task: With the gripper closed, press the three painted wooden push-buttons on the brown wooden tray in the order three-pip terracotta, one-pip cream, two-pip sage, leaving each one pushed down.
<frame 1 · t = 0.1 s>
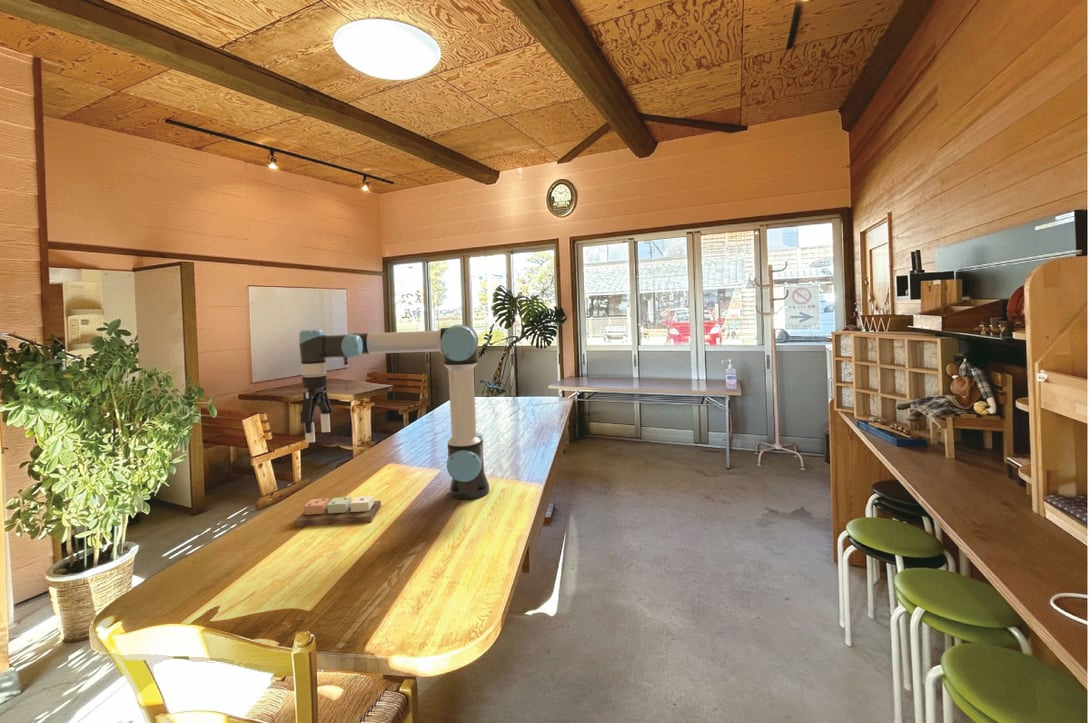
hand: (318, 436, 160), 28 cm above the table, fingers open, 13 cm apart
button three terracotta: (317, 506, 160), point 4 cm above the table, slide at 0.0 cm
button one cream: (362, 503, 161), point 4 cm above the table, slide at 0.0 cm
brown wooden tray: (340, 516, 161), on the table
button two sage: (339, 504, 160), point 4 cm above the table, slide at 0.0 cm
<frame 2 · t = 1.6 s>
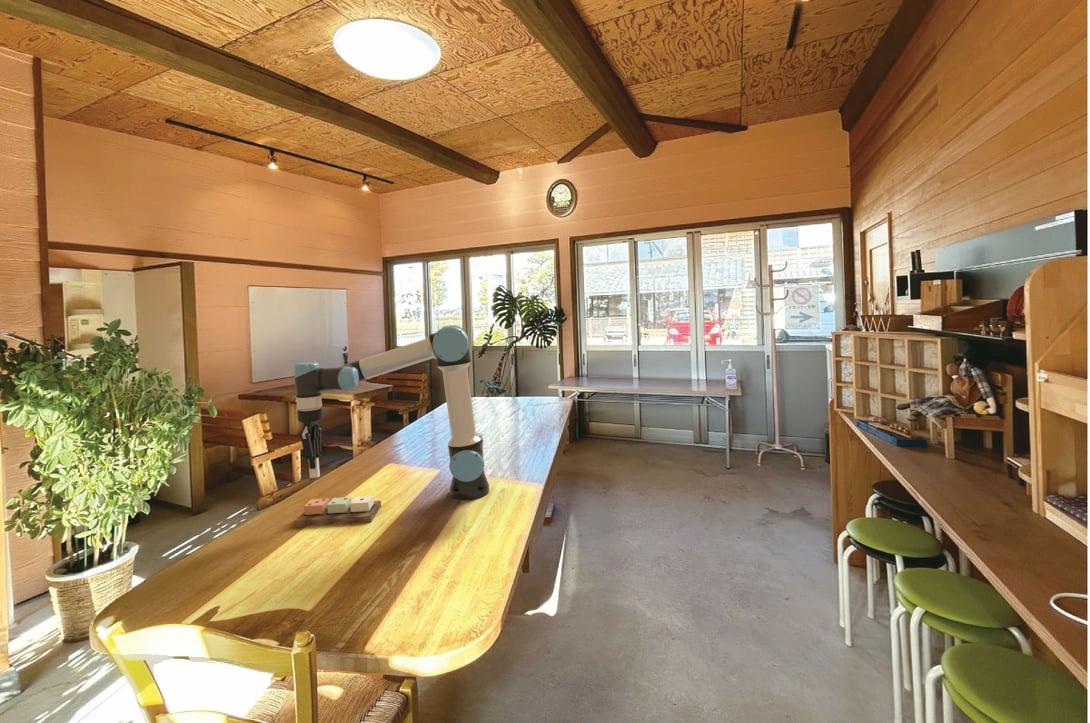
hand: (314, 476, 159), 14 cm above the table, fingers closed
nothing on the table moved.
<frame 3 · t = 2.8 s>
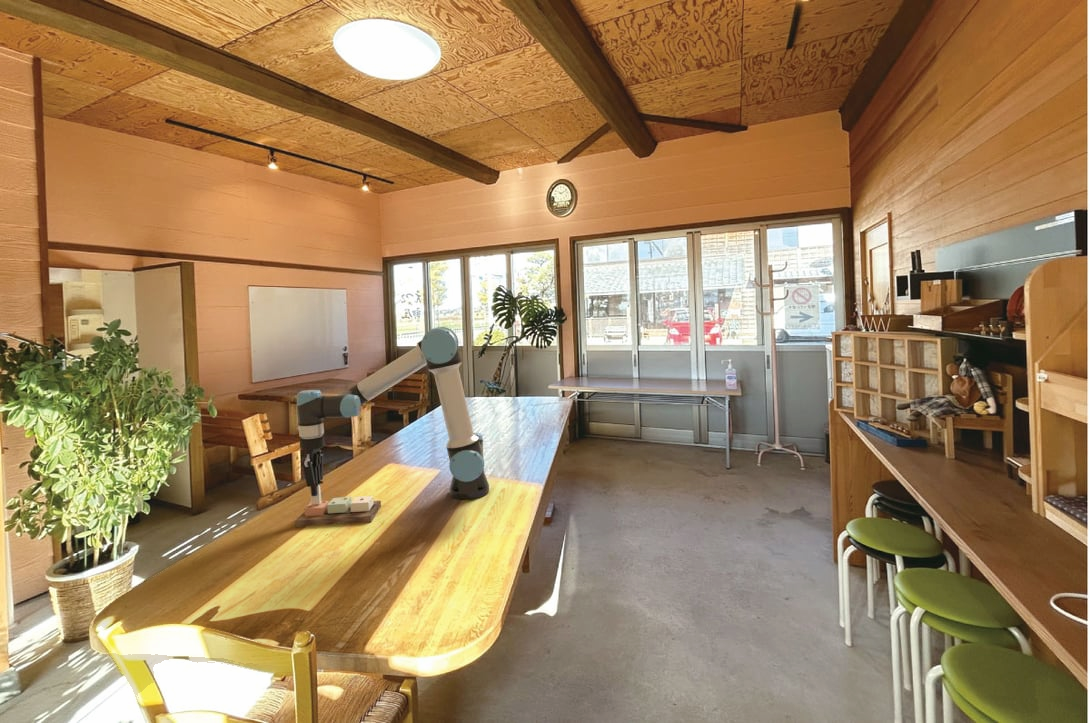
hand: (316, 503, 160), 5 cm above the table, fingers closed
button three terracotta: (317, 508, 160), point 3 cm above the table, slide at 0.9 cm, touching gripper
everything else where it was.
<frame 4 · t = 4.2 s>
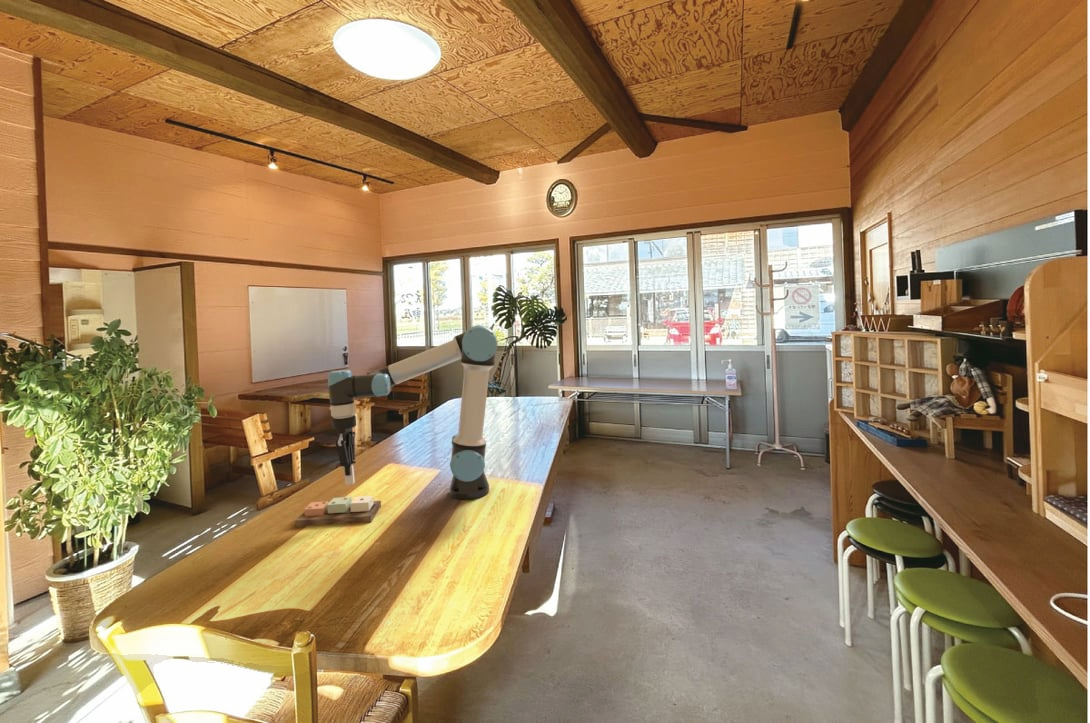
hand: (350, 483, 160), 11 cm above the table, fingers closed
button three terracotta: (317, 509, 160), point 3 cm above the table, slide at 1.1 cm
everything else where it was.
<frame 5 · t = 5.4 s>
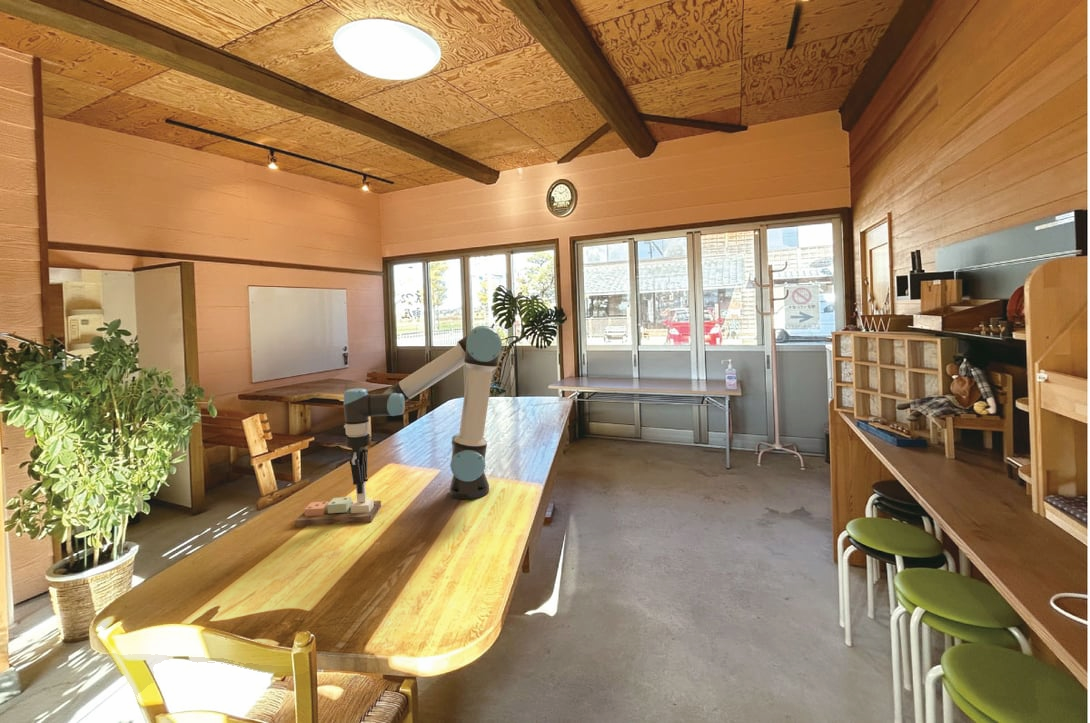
hand: (361, 501, 161), 5 cm above the table, fingers closed
button one cream: (362, 506, 161), point 3 cm above the table, slide at 1.0 cm
everything else where it was.
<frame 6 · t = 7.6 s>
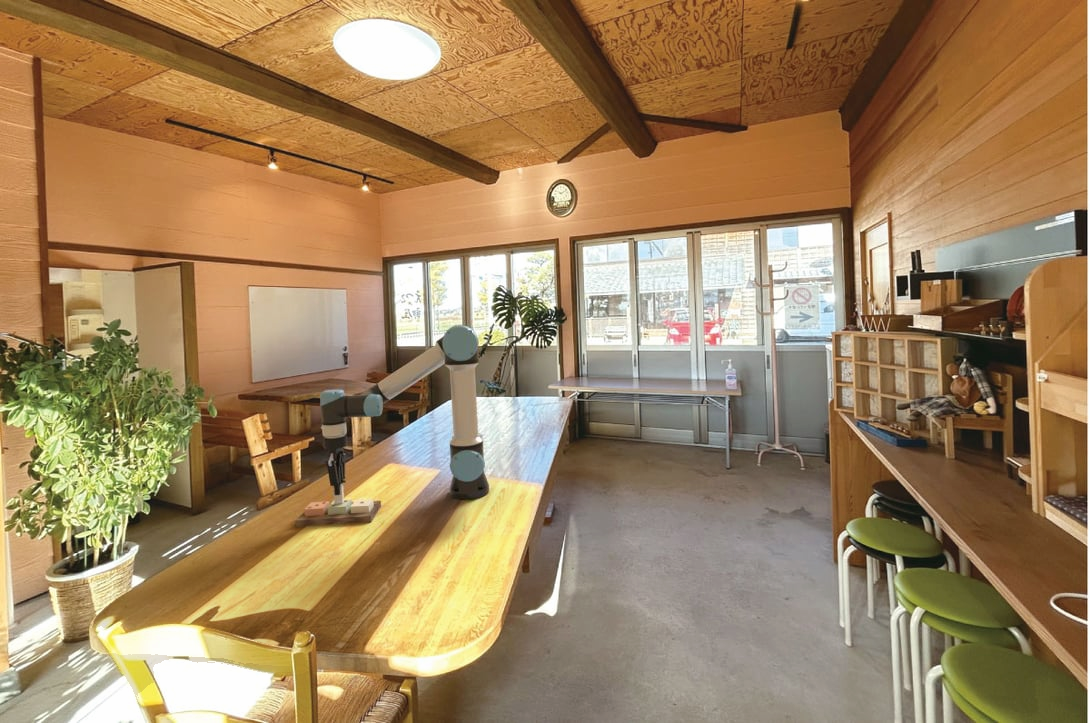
hand: (339, 502, 160), 5 cm above the table, fingers closed
button two sage: (339, 507, 160), point 3 cm above the table, slide at 0.9 cm, touching gripper
everything else where it was.
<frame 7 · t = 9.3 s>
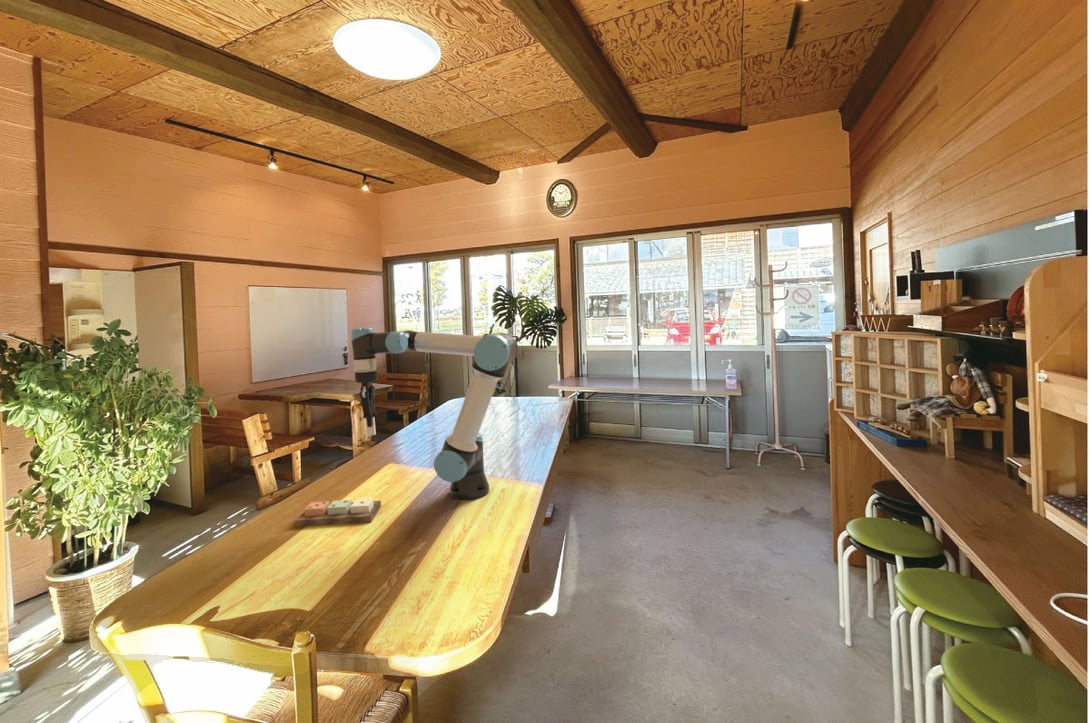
hand: (371, 434, 170), 25 cm above the table, fingers closed
button two sage: (339, 507, 160), point 3 cm above the table, slide at 1.0 cm
everything else where it was.
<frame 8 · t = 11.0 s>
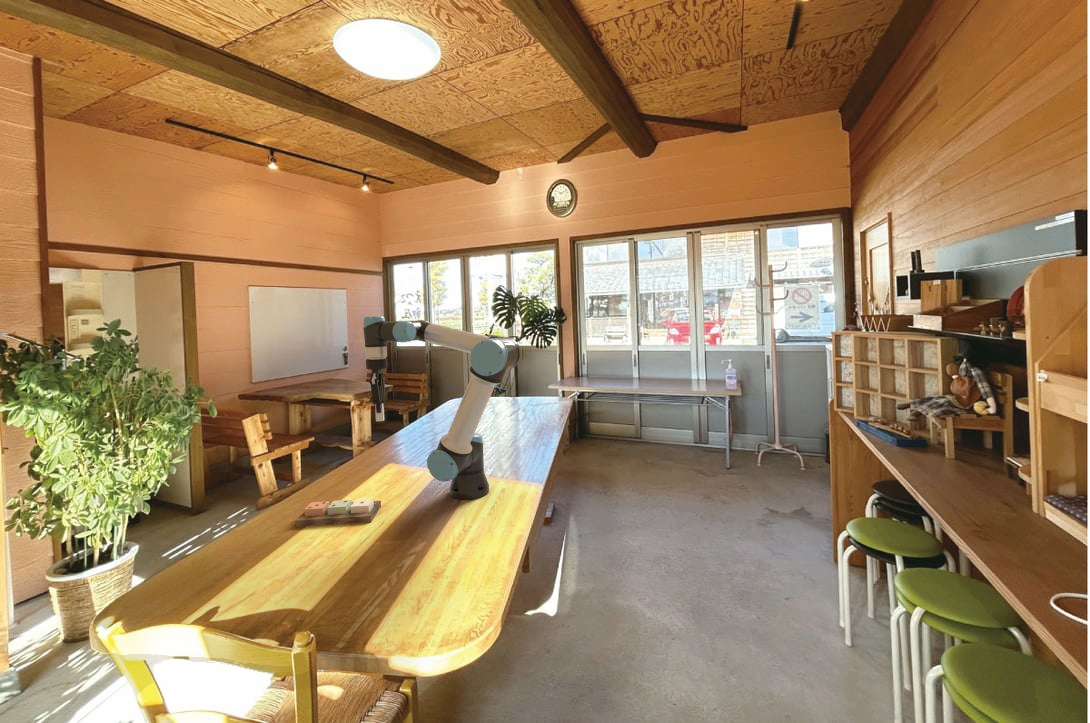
hand: (380, 420, 175), 29 cm above the table, fingers closed
nothing on the table moved.
at the end: button three terracotta slide at 1.1 cm; button one cream slide at 1.1 cm; button two sage slide at 1.0 cm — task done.
